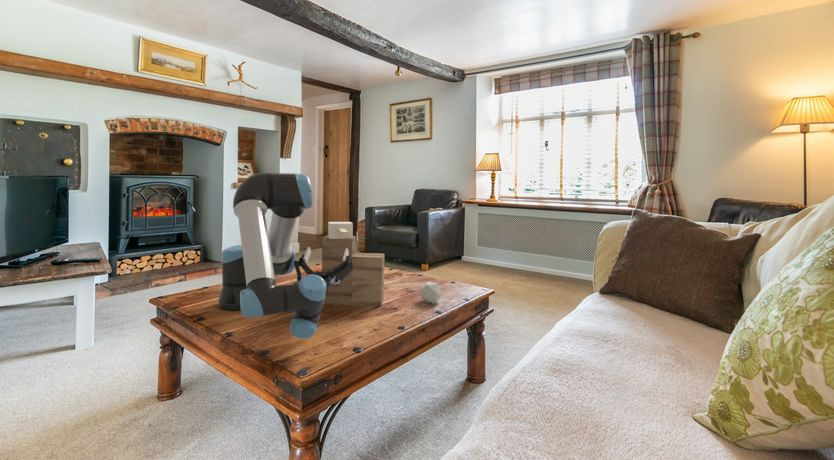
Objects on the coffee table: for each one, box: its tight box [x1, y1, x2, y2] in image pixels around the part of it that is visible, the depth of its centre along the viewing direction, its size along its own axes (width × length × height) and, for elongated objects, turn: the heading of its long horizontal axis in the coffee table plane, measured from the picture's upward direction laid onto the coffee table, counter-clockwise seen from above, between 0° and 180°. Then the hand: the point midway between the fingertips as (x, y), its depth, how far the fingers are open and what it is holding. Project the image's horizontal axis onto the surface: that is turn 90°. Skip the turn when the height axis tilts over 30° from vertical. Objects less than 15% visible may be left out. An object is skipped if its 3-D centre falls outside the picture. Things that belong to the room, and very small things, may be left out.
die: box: [418, 281, 443, 304], centre depth 169 cm, size 8×9×10 cm
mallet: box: [327, 221, 354, 239], centre depth 156 cm, size 17×9×6 cm, turn 17°
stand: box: [321, 234, 385, 307], centre depth 164 cm, size 8×24×27 cm, turn 89°
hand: (328, 250), depth 145 cm, fingers open, 13 cm apart
